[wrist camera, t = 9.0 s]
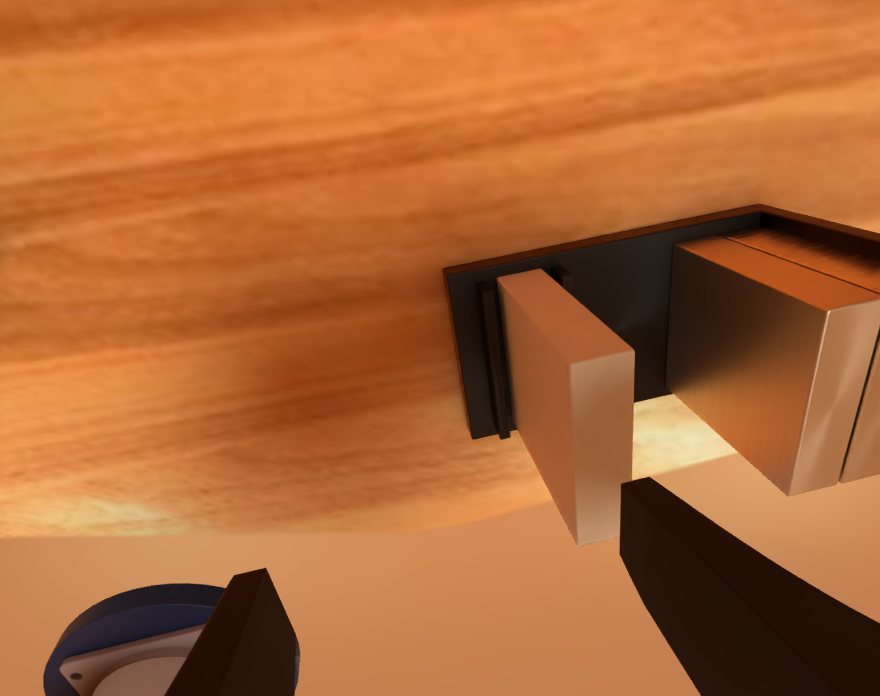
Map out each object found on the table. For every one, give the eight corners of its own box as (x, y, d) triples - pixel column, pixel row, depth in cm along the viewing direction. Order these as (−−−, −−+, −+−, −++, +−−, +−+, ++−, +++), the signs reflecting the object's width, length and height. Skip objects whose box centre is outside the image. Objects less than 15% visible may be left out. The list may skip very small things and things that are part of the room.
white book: (540, 267, 17) (635, 350, 12) (550, 410, 20) (631, 534, 14) (496, 276, 17) (569, 364, 11) (511, 419, 20) (577, 548, 14)
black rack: (760, 203, 18) (982, 258, 12) (739, 367, 22) (905, 480, 15) (442, 268, 18) (496, 364, 11) (468, 429, 21) (521, 576, 14)
